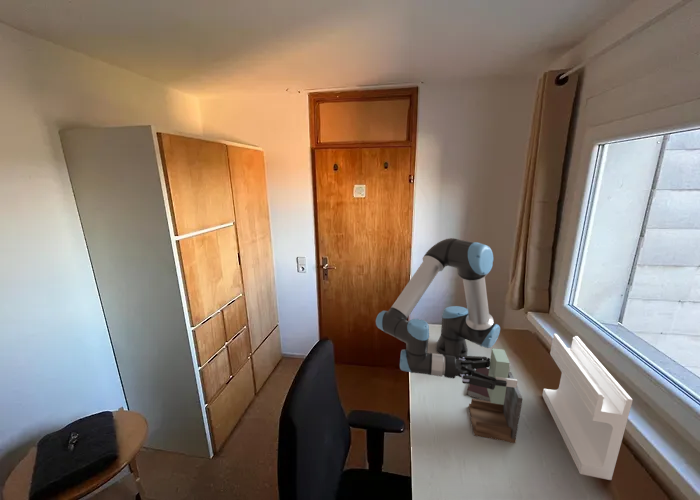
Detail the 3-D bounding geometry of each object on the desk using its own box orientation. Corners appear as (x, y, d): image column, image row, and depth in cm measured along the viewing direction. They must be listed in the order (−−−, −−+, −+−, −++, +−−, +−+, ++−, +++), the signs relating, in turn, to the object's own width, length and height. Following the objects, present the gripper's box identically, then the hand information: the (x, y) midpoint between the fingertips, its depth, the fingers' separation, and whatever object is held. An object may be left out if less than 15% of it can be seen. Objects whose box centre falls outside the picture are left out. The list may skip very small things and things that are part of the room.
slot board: (468, 406, 121) (473, 367, 117) (505, 412, 119) (511, 372, 114) (474, 435, 108) (479, 392, 104) (515, 443, 105) (522, 398, 101)
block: (611, 480, 93) (632, 399, 86) (580, 473, 95) (598, 394, 88) (564, 399, 126) (577, 336, 119) (542, 395, 128) (553, 333, 121)
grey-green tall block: (486, 387, 115) (491, 348, 111) (498, 389, 114) (504, 349, 110) (491, 402, 107) (496, 361, 103) (503, 404, 106) (509, 363, 102)
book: (506, 380, 137) (507, 374, 137) (499, 407, 122) (500, 400, 121) (476, 371, 144) (476, 364, 143) (466, 395, 128) (466, 388, 127)
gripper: (441, 358, 123) (504, 367, 118) (444, 394, 103) (520, 406, 98) (443, 341, 121) (507, 349, 116) (446, 374, 101) (523, 385, 96)
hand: (513, 375), depth 107 cm, fingers closed on grey-green tall block, 8 cm apart
